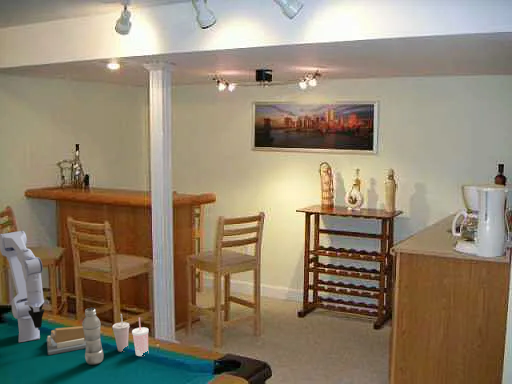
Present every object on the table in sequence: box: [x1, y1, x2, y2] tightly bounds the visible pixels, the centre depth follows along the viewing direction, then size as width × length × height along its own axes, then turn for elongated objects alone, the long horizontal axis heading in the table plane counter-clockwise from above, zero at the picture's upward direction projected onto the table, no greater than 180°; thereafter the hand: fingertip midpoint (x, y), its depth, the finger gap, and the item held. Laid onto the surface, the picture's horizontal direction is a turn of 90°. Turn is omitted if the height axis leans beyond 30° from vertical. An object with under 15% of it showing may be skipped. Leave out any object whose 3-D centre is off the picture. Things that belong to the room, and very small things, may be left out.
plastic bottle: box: [81, 307, 104, 366], centre depth 205 cm, size 6×7×20 cm
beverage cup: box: [131, 316, 149, 357], centre depth 212 cm, size 6×6×14 cm
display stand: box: [46, 335, 86, 356], centre depth 224 cm, size 14×17×3 cm
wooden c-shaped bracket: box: [50, 325, 85, 343], centre depth 225 cm, size 8×12×5 cm, turn 122°
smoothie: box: [112, 313, 131, 353], centre depth 216 cm, size 6×6×14 cm
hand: (38, 324), depth 220 cm, fingers open, 7 cm apart
